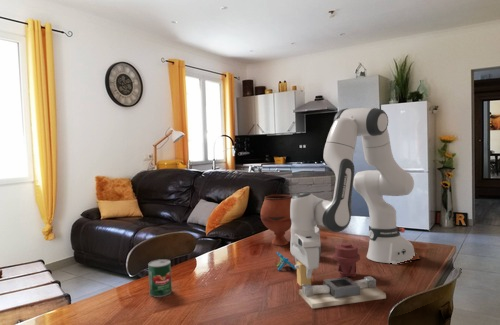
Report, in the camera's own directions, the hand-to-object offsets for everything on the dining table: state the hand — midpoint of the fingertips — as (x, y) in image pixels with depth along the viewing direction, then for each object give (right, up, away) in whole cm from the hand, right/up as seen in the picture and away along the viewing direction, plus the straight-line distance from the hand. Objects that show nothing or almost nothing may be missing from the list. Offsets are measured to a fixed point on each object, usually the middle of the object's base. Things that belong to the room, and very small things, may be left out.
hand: (303, 273), depth 135 cm
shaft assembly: (+11, -3, -12) cm, 16 cm away
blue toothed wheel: (-5, -4, +17) cm, 18 cm away
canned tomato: (-52, -6, -3) cm, 53 cm away
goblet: (-4, -2, +57) cm, 57 cm away
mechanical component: (+18, -3, +7) cm, 20 cm away
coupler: (0, -4, 0) cm, 4 cm away
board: (+11, -4, -12) cm, 17 cm away
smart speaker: (+8, -2, +31) cm, 32 cm away
